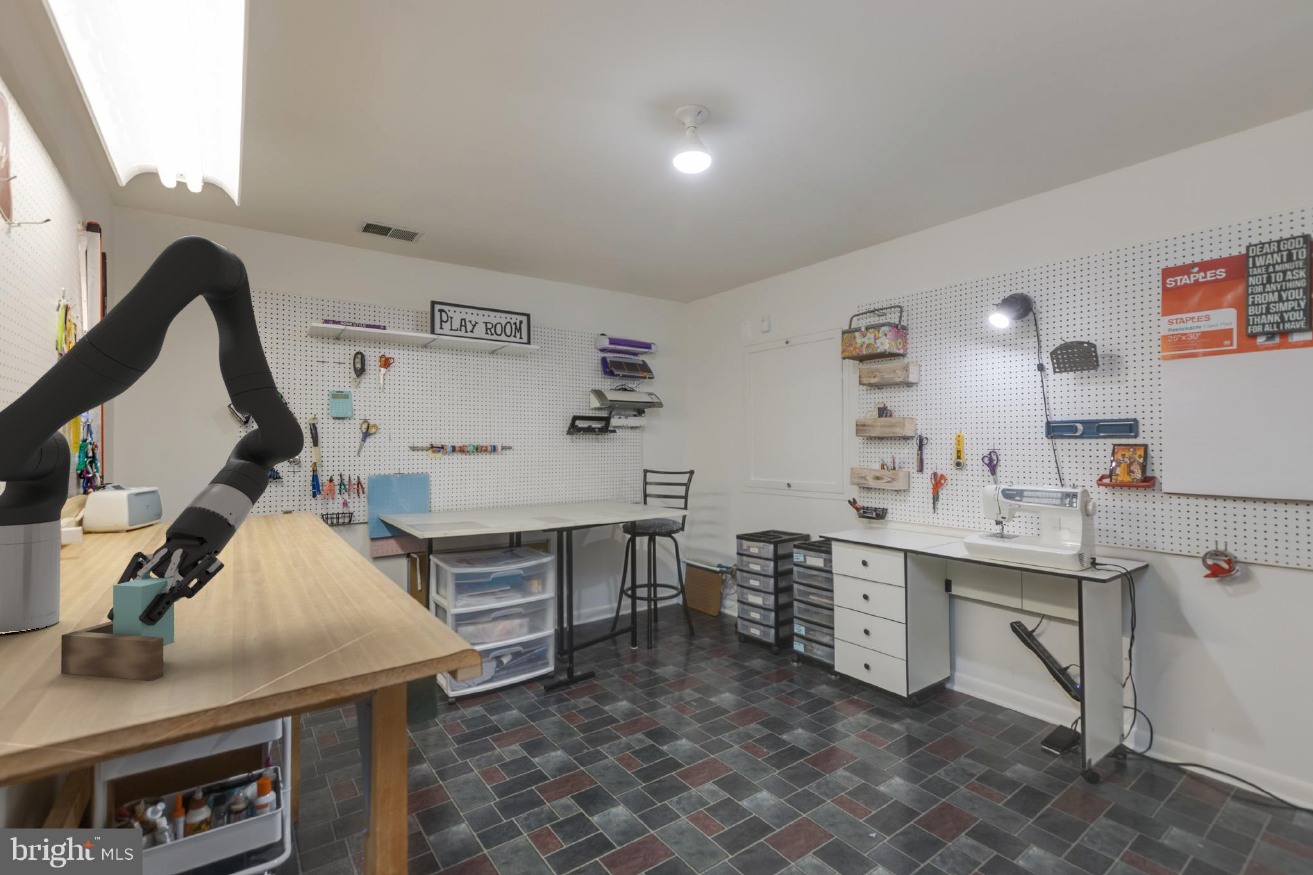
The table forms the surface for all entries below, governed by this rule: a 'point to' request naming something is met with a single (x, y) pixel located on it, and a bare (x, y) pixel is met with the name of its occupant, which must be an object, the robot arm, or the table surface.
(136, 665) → the walnut corner
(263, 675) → the table surface
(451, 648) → the table surface
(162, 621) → the teal block
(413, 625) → the table surface
